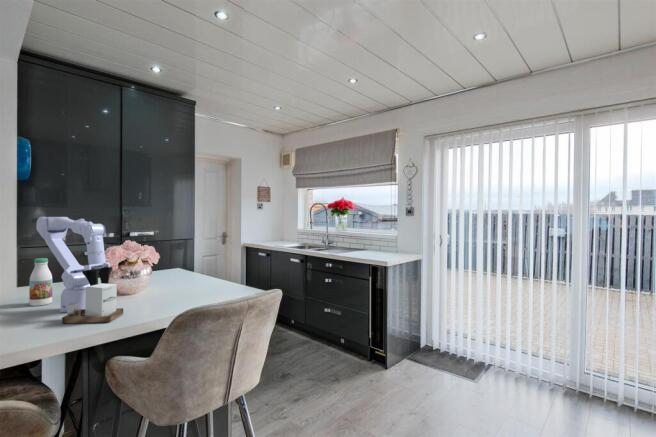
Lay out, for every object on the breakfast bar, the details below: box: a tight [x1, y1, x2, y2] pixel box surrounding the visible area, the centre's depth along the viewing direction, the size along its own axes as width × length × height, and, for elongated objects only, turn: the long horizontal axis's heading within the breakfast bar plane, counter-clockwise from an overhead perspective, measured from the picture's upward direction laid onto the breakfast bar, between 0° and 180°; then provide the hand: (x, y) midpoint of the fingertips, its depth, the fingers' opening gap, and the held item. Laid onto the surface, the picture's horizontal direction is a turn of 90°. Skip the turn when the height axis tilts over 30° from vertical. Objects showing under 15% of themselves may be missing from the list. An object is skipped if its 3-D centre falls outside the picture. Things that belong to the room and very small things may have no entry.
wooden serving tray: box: [61, 303, 124, 324], centre depth 130 cm, size 17×11×6 cm, turn 98°
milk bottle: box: [28, 257, 53, 307], centre depth 149 cm, size 8×8×20 cm
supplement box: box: [84, 282, 118, 316], centre depth 130 cm, size 7×7×13 cm
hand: (99, 286), depth 138 cm, fingers open, 7 cm apart
